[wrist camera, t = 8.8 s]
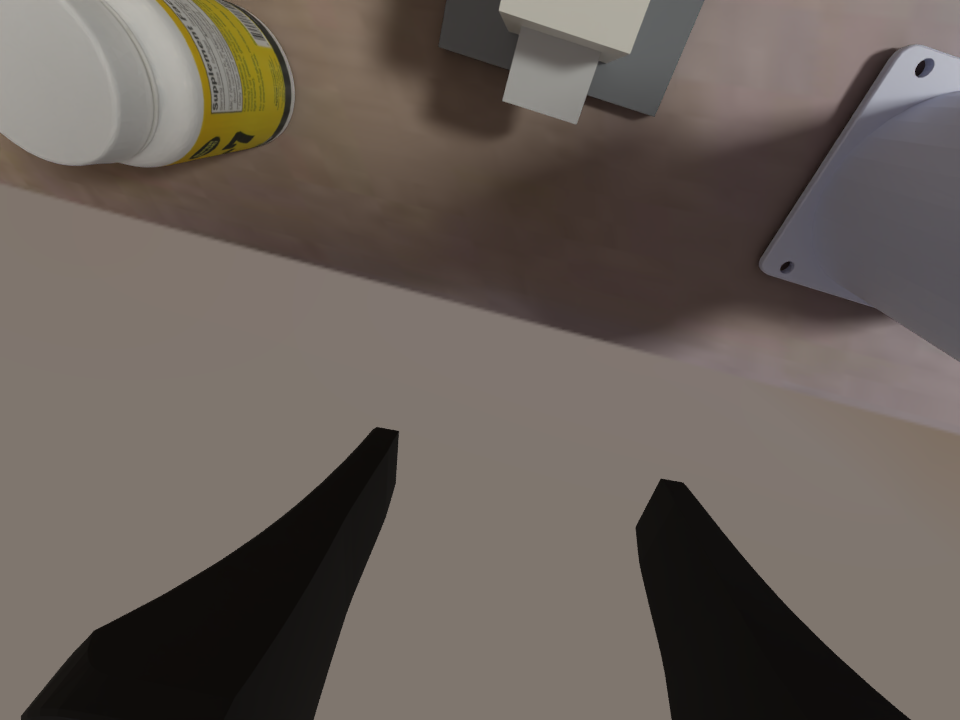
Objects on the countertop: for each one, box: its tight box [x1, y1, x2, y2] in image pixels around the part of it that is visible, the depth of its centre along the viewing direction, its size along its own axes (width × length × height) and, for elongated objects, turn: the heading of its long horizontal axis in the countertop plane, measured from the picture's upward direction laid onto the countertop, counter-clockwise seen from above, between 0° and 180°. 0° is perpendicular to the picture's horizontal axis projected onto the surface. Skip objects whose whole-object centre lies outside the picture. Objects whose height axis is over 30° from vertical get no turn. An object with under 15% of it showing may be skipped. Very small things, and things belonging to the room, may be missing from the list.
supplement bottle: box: [0, 0, 295, 167], centre depth 13 cm, size 5×5×8 cm
